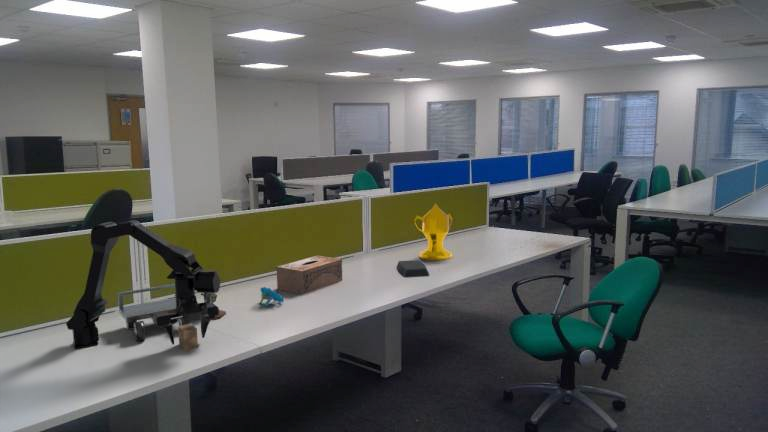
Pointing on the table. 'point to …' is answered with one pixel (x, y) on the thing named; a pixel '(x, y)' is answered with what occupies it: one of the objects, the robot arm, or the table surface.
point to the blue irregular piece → (270, 295)
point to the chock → (188, 336)
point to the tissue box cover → (309, 274)
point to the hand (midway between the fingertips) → (188, 340)
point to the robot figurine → (211, 299)
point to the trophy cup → (435, 233)
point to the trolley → (146, 311)
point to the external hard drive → (412, 268)
